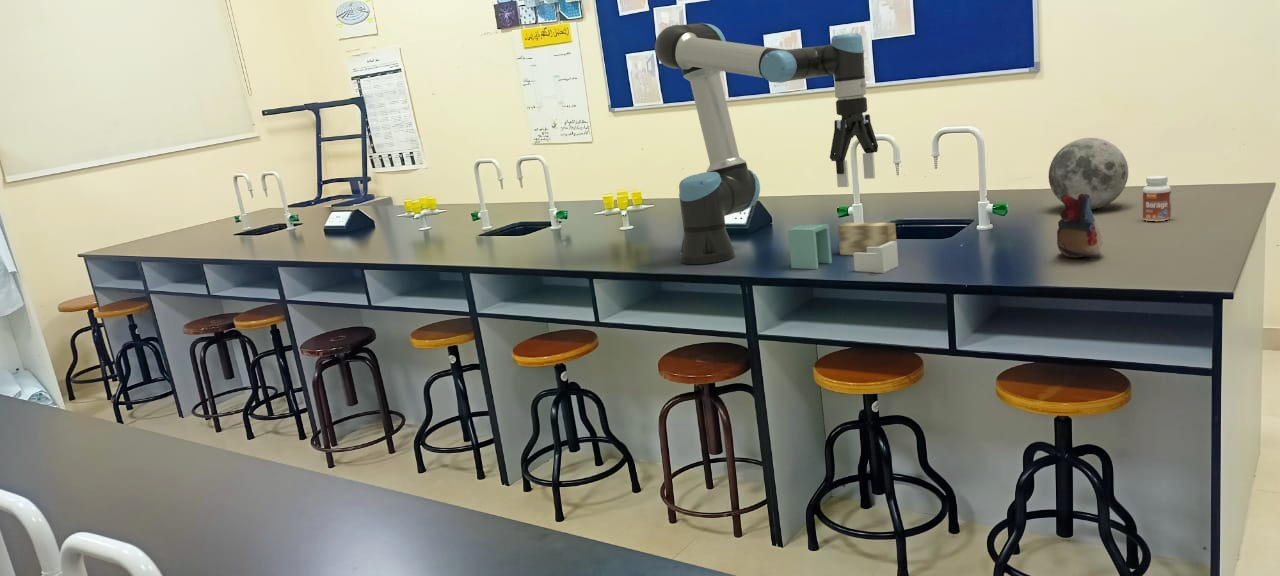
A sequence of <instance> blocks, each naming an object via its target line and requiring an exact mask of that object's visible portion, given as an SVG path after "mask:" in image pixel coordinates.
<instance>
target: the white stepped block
mask: <svg viewBox="0 0 1280 576" xmlns="http://www.w3.org/2000/svg"><path fill="white" fill-rule="evenodd" d="M852 256H853V264H854V265H853V267H854V272H866V273H877V274H884V273H885V274H886V273H888V272H889V271H891V270H894V269H895V268H897V267H899V252H898V241H897V240H896V241H890V242H888V243H886V244H883V245H881V246H879V247H867V253H862V252H855V253H853V255H852Z"/></svg>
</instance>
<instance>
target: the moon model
mask: <svg viewBox="0 0 1280 576" xmlns="http://www.w3.org/2000/svg"><path fill="white" fill-rule="evenodd" d="M1128 179H1129V165H1128V162H1127V158H1126V157H1125V155H1124V154H1123V152H1122V151H1121V149H1120V148H1118V147H1117V146H1116V145H1115V144H1113V143H1111V142H1110V141H1108V140H1105V139H1103V138H1102V139H1101V138H1097V137H1084V138H1079V139H1076V140H1073V141H1071V142H1069V143H1068V144H1066V145H1064V146H1063V147H1062V148H1060V150H1058V152H1057V153H1056V154H1055V155H1054V157H1053V158H1052V160H1051V162H1050V165H1049V169H1048V183H1049V187H1050V189H1051V191H1052V193H1053V194H1054V196H1055V197H1056V199H1058V200H1059V201H1060V202H1061V203H1062V204H1064V203H1063V202H1062V200H1061V196H1062V195H1063V194H1068V195H1070V196H1071V197H1073V198H1075V199H1077V200H1078V196H1079V195H1080V194H1088V195H1090V197H1091V202H1090V208H1091V209H1093V210H1097V209H1096V208H1098V209H1100V208H1104V207H1105V206H1108V205H1110V204H1111V203H1112V202H1114V201H1115V200H1116V199H1118V197H1119V196H1120V195H1121V194H1122V193H1123V191H1124V190H1125V187H1126V185H1127V183H1128Z"/></svg>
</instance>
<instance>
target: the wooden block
mask: <svg viewBox="0 0 1280 576" xmlns="http://www.w3.org/2000/svg"><path fill="white" fill-rule="evenodd" d="M837 231H838V243H839V246H838V247H839V255H840V256H841V255H843V256H846V255H847V256H854V255H853V253H855V252H862V253H867V247H879V246H881V245H883V244H886V243H888V242H890V241H897V232H896V222H844V223H840V224H838V225H837Z"/></svg>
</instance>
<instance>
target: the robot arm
mask: <svg viewBox="0 0 1280 576" xmlns="http://www.w3.org/2000/svg"><path fill="white" fill-rule="evenodd" d="M654 51H655V55H656V58H657V59H658V61H659V62H660V63H661V64H662V65H663V66H664V67H667V68H670V69H676V70H677V69H681V72H682V77H683V78H684V79H685V80H687V81H689V83H690V87H691V91H692V95H693V99H694V103H695V109H696V112H697V116H698V120H699V124H700V128H701V132H702V137H703V140H704V144H705V149H706V154H707V157H708V161H709V166H708V168H707V170H706V171H705V172H701V173H696V174H691V175H689V176H687V177H685V178H683V179H682V180H681V181H679V185H678V189H679V190H678V191H679V192H678V198H679V202H680V203H679V204H680V205H679V206H680V210H681V219H682V226H683V236H682V237H683V239H682V243H681V251H680V253H679V254H680V255H679V256H680V262H681V263H682V264H686V265H707V264H714V263H715V264H716V263H720V262H724V261H728V260H731V259H733V258H735V256H736V253H735V247H734V245H733V244H732V240H731V238H730V236H729V234H728V231H727V229H726V228H727V227H726V219H725V218H726V217H725V216H731V215H732V214H737V213H742V212H744V211H746V210H748V209H750V208H752V207H753V206H754V205H755V204H756V202H757V200H758V199H759V197H760V192H761V185H760V180H759V178H758V176H757V174H756V173H754V172H753V171H752V170H751V169H748V168H749V167H748V165H747V160H745V159H743V158H742V157H740V155H739V149H738V146H737V142H736V137H735V133H734V129H733V124H732V120H731V116H730V112H729V109H728V108H729V107H728V105H727V100H726V95H725V91H724V86H723V83H722V78H721V72H723V73H729V74H730V73H731V74H739V75H744V76H749V77H754V78H755V77H757V78H763V79H765V80H767V81H768V82H770V83H780V84H781V83H785V82H790V81H797V80H804V79H805V80H806V79H812V78H820V77H828V76H833V80H834V96H835V99H837V100H836V101H835V109H836V110H835V111H836V114H837V115H838V116H841V119H835V120H834V125H833V126H834V130H833V136H832V143H831V148H830V154H829V159H830V160H831V162H835V169H836V183H837V184H836V185H837V188H848V187H849V185H850V183H849V170H848V160H846V157H847V153H848V151H849V148H850V144H851V141H852V139H853V138H854V137H856V139H857V140H858V142H859V145H860V147H861V148H862V150H863V151H864V153H862V165H863V166H862V167H863V177H864V179H865V180H866V179H867V180H869V179H876V171H875V155H874V154H875V153H878V149H879V145H878V144H879V143H878V141H877V137H876V135H875V131H874V128H873V126H872V122H871V116H870V114H863V113H867V111H868V103H867V102H868V99H867V97H866V96H865V95H866V94H867V91H866V90H867V83H866V76H865V74H866V73H865V57H864V56H865V54H864V53H865V50H864V43H863V36H862V34H860V33H858V32H854V33H851V32H850V33H845V34H839V35H833V36H832V37H831V42H830V44H827V45H819V46H807V47H799V48H791V49H784V48H776V47H769V46H761V45H753V44H746V43H740V42H731V41H727V40H726V38H725V36H724V34H723V32H722V31H721V29H719V28H718V27H717V26H716V25H713V24H712V23H711V24H710V23H704V22H697V23H690V24H673V25H670V26H666V27H665V28H664V29H663V30H662V31H661V32H660V33H659V34H658V35H657V37H656V39H655V43H654Z"/></svg>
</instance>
